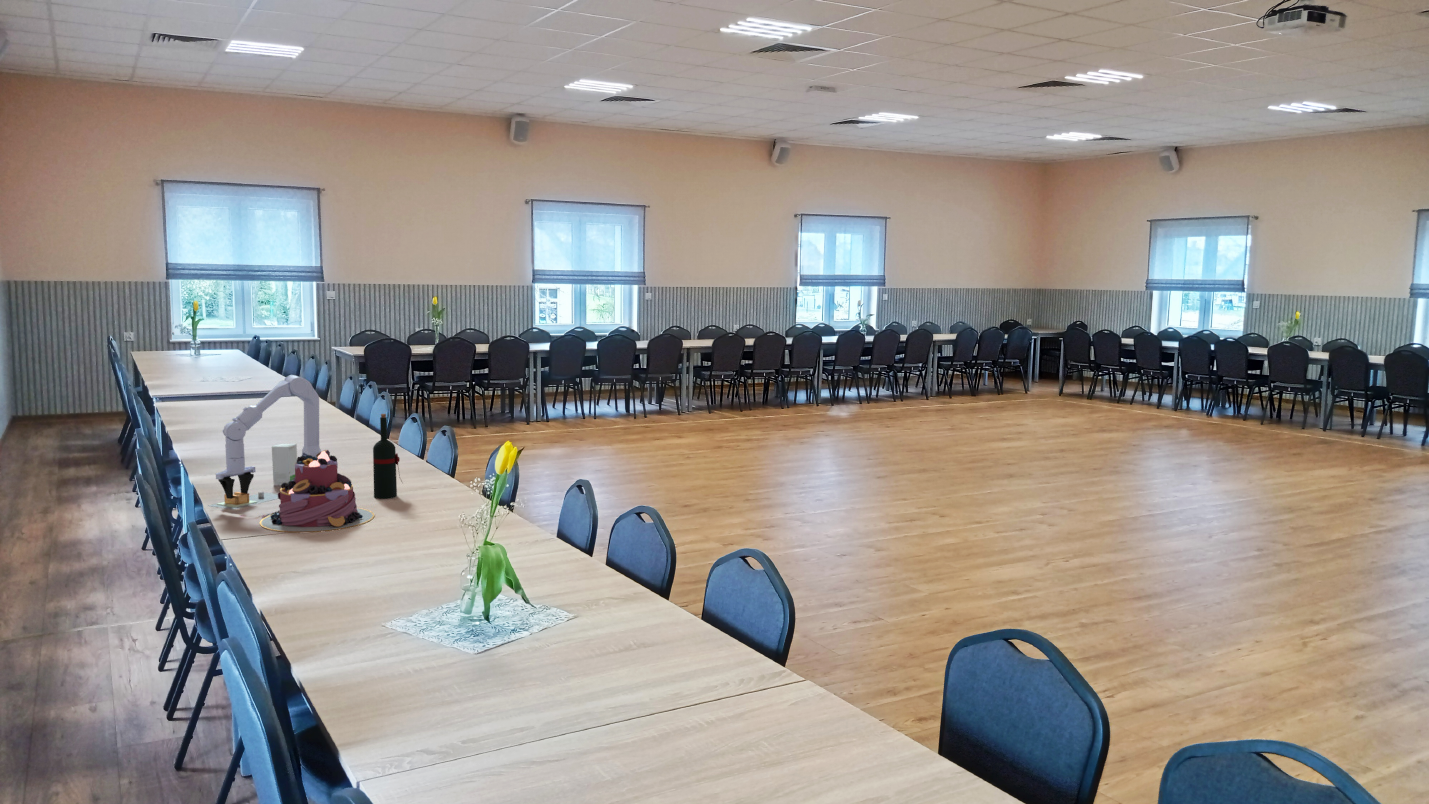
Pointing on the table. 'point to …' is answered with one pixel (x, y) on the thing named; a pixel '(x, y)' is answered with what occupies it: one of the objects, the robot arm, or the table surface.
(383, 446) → the wine bottle
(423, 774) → the table surface
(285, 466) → the skincare box
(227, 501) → the c link
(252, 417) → the robot arm
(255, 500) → the peg board
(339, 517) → the wedding cake
